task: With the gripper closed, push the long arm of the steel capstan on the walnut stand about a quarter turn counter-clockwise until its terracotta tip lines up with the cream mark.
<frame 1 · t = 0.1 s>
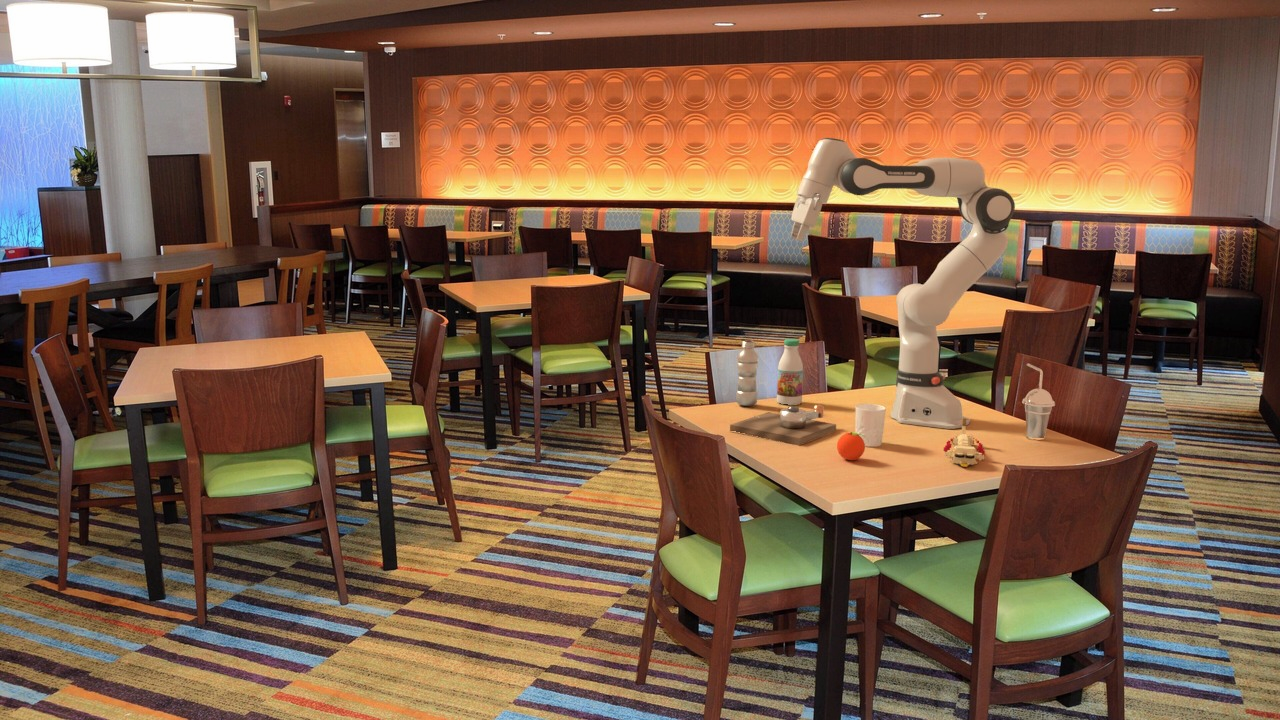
hand: (796, 239, 299), 52 cm above the table, tool tilted 20°, fingers open, 8 cm apart
cup with straw: (1035, 438, 288), on the table
clementine: (852, 460, 264), on the table
milk bottle: (789, 403, 326), on the table
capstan: (803, 414, 292), point 5 cm above the table, hinge at -100.0°
white cup: (868, 444, 280), on the table
plastic bottle: (746, 406, 322), on the table
walnut stand: (792, 433, 290), on the table
blocky toy figure: (963, 457, 269), on the table
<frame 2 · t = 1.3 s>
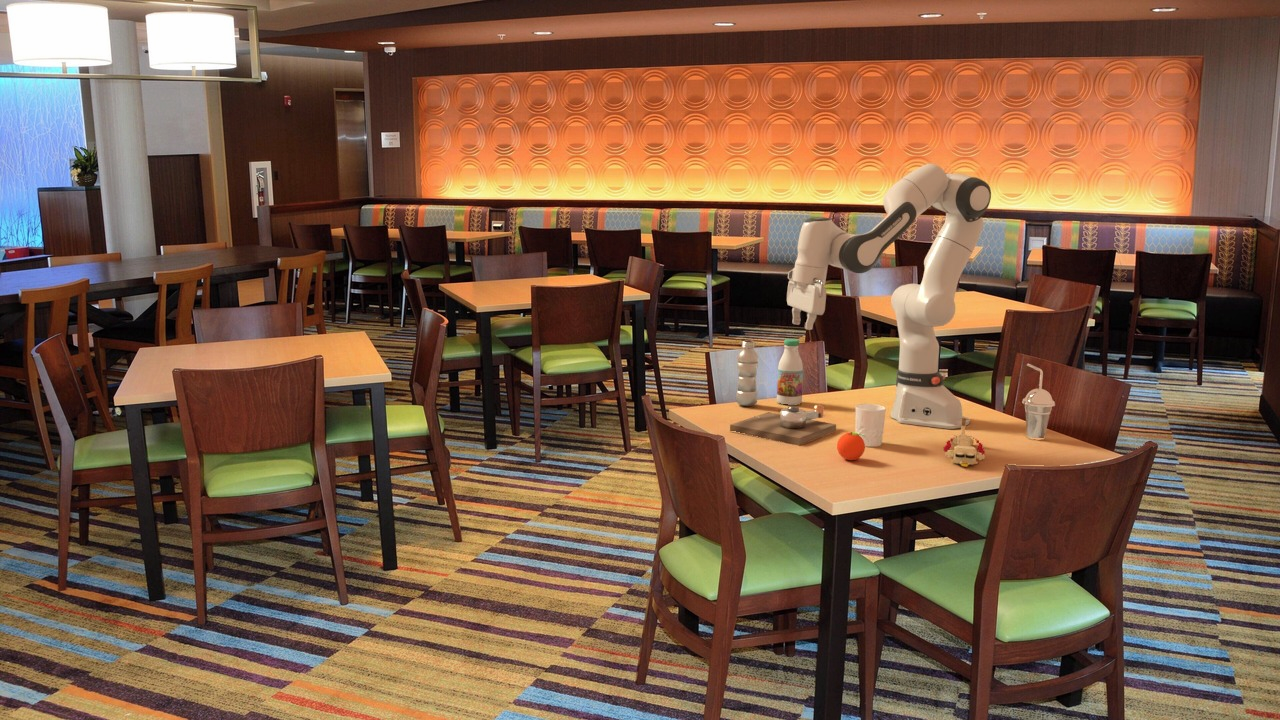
hand: (802, 326, 287), 29 cm above the table, tool pointing down, fingers open, 8 cm apart
nothing on the table moved.
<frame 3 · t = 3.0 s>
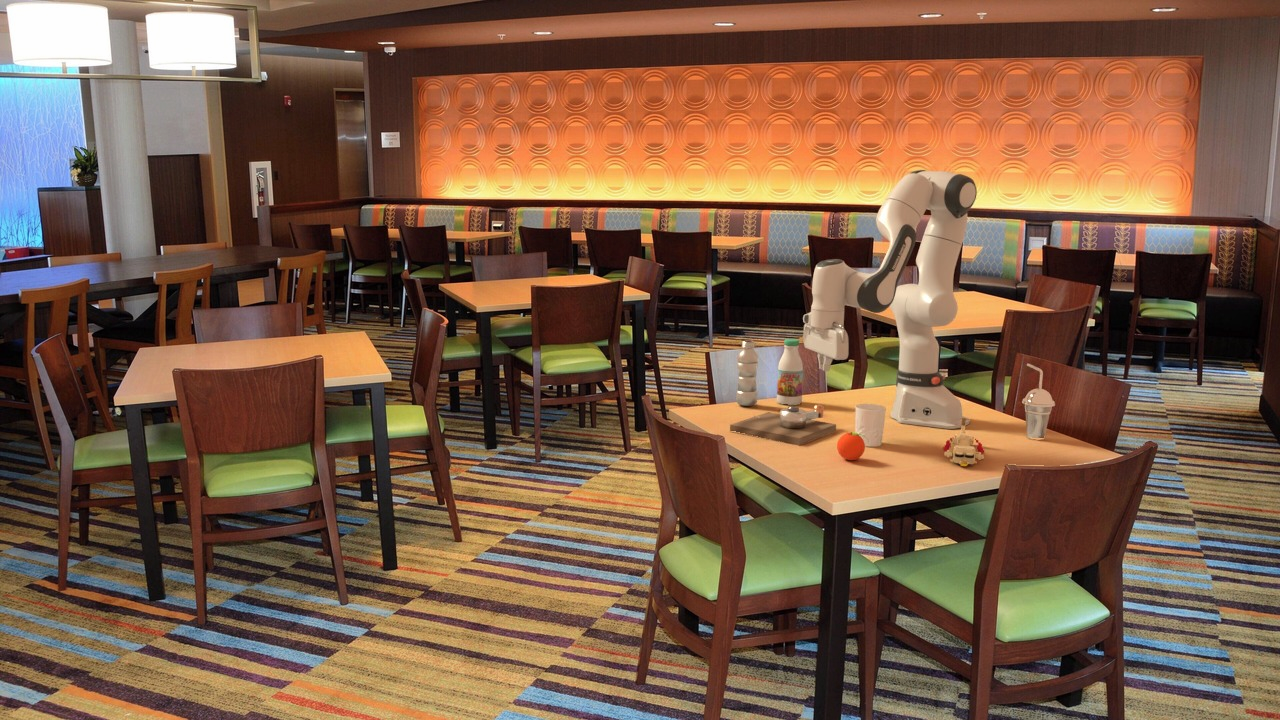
hand: (824, 370, 285), 18 cm above the table, tool pointing down, fingers closed
nothing on the table moved.
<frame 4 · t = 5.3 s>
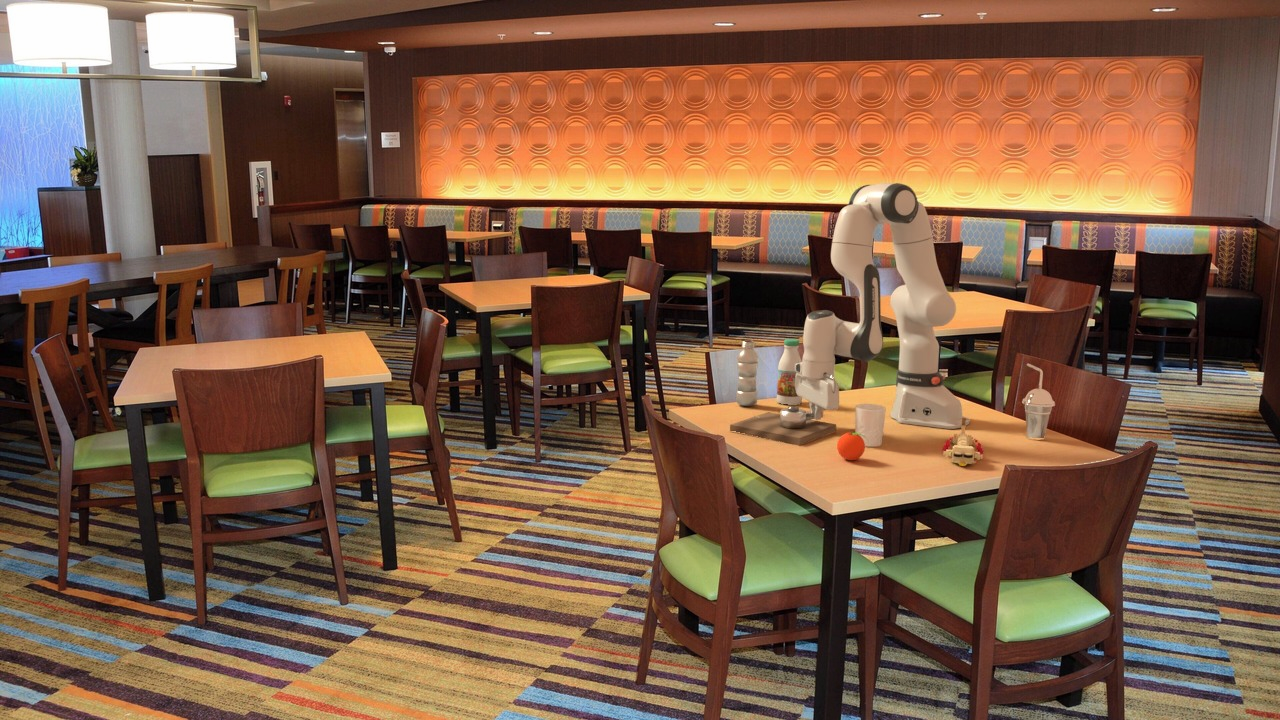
hand: (816, 418, 292), 4 cm above the table, tool pointing down, fingers closed
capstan: (803, 414, 292), point 5 cm above the table, hinge at -100.0°, touching gripper
everything else where it was.
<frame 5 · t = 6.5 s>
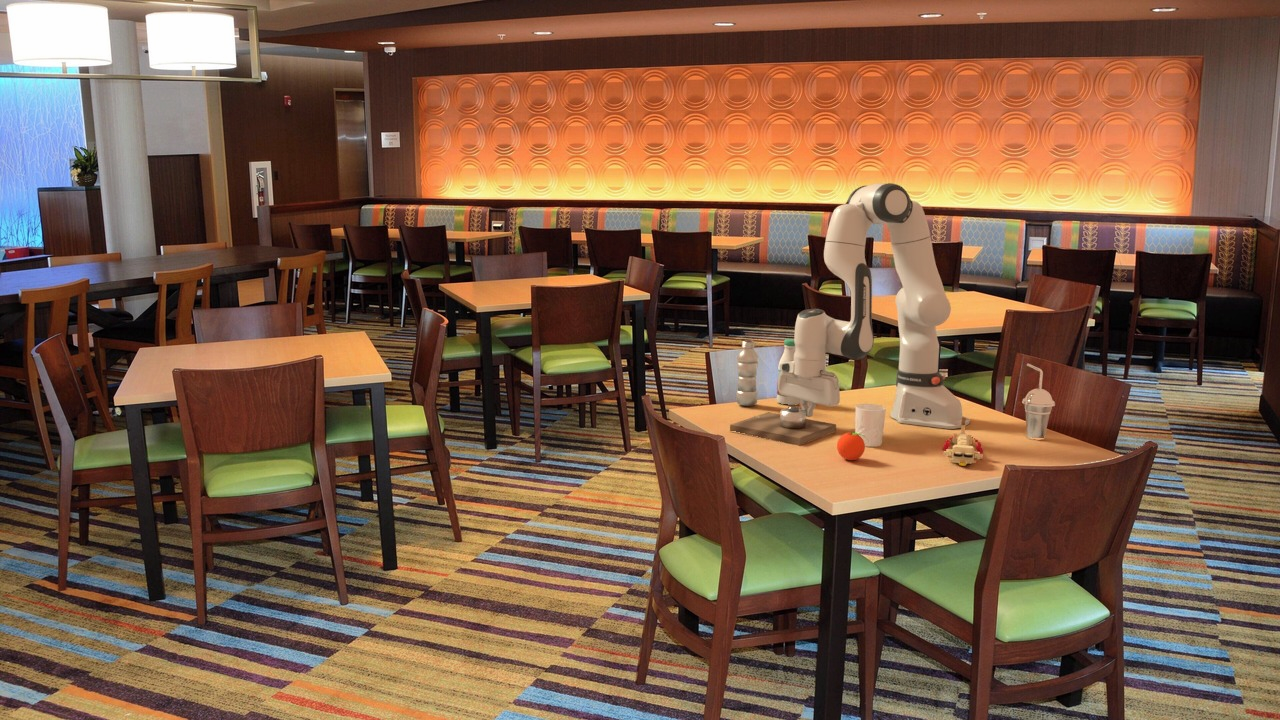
hand: (807, 416, 295), 4 cm above the table, tool pointing down, fingers closed
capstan: (797, 413, 293), point 5 cm above the table, hinge at -75.6°, touching gripper
everything else where it was.
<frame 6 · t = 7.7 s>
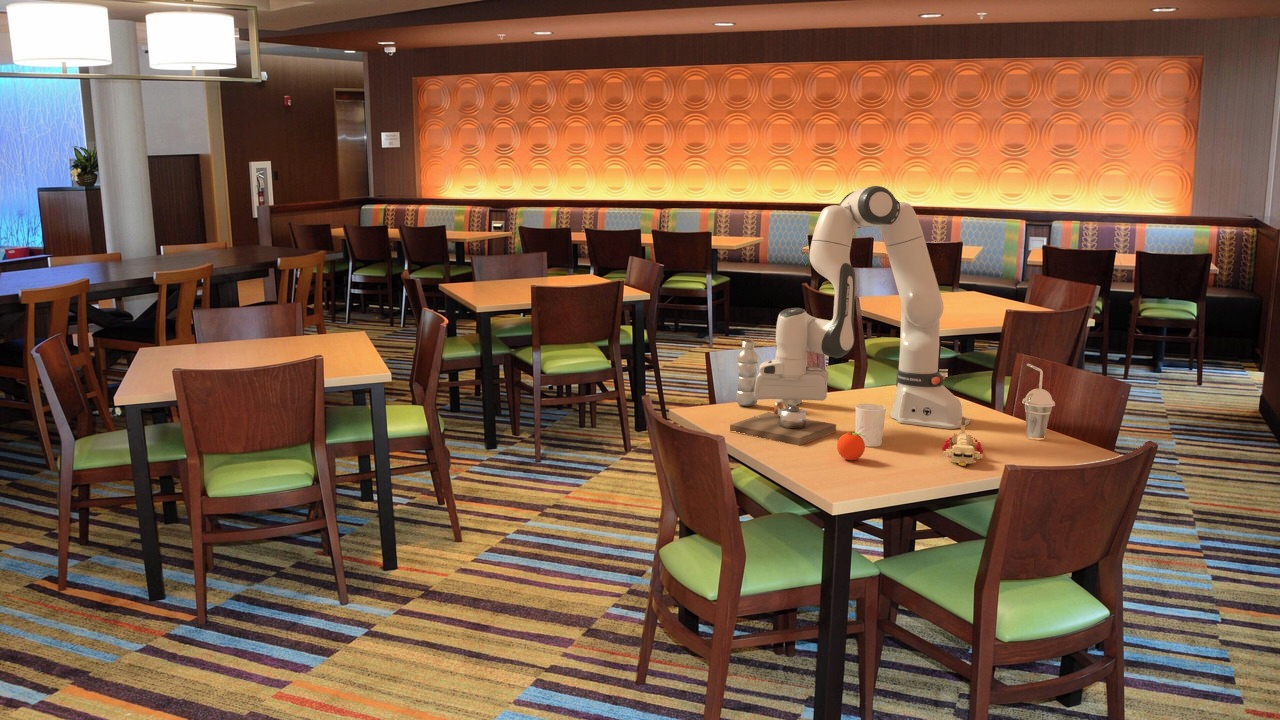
hand: (789, 414, 297), 3 cm above the table, tool pointing down, fingers closed
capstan: (787, 412, 293), point 5 cm above the table, hinge at -38.1°, touching gripper
everything else where it was.
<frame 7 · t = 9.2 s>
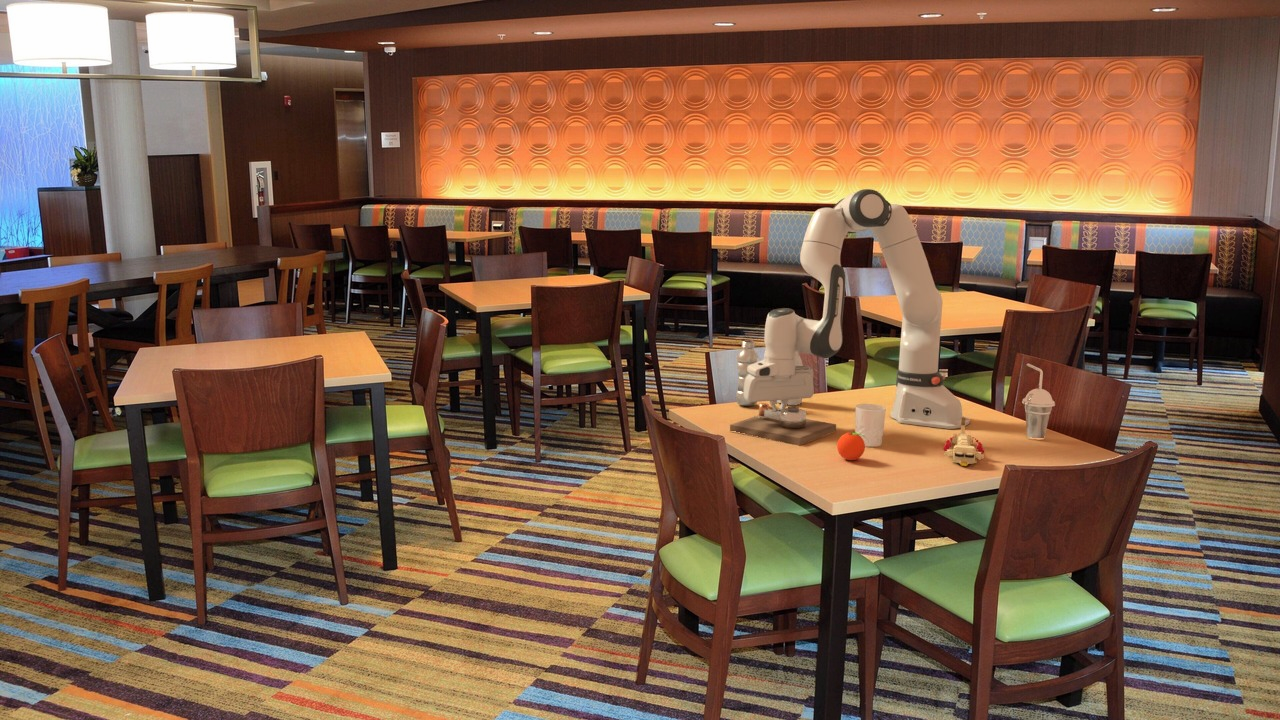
hand: (778, 415, 296), 3 cm above the table, tool pointing down, fingers closed
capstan: (781, 413, 292), point 5 cm above the table, hinge at -10.9°, touching gripper
everything else where it was.
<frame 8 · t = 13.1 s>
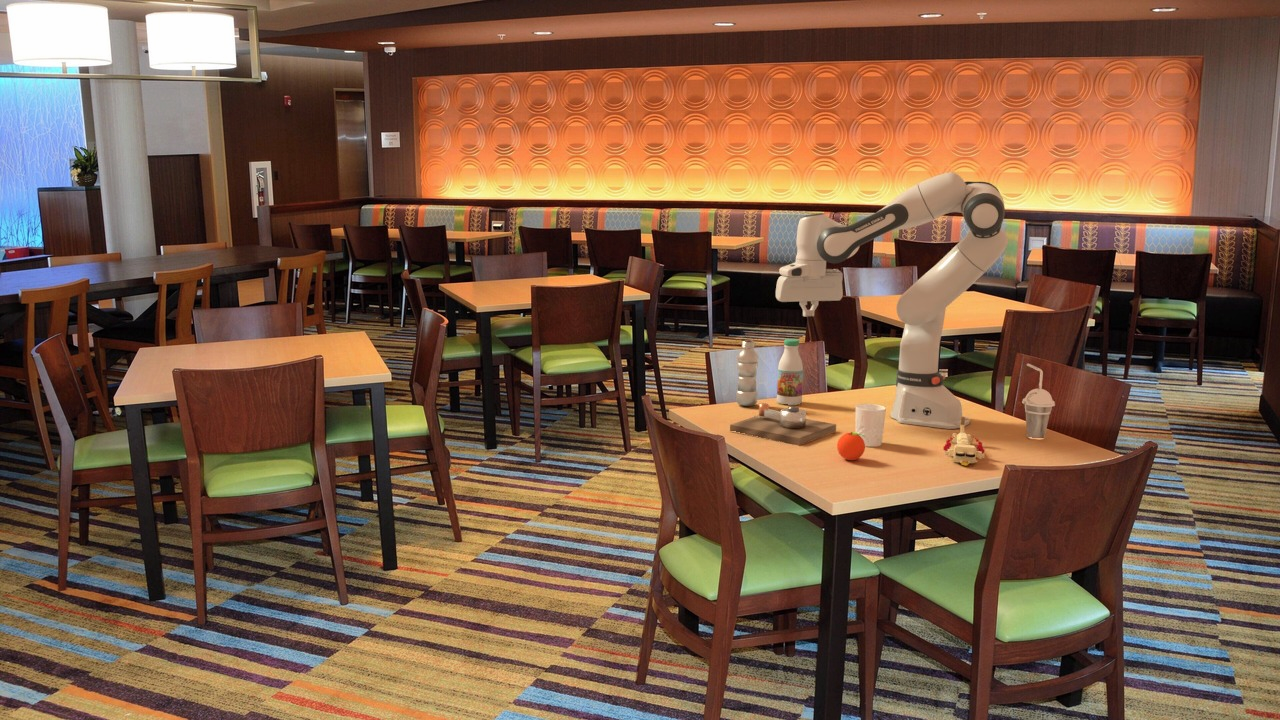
hand: (808, 316, 309), 29 cm above the table, tool pointing down, fingers closed
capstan: (781, 413, 292), point 5 cm above the table, hinge at -10.8°
at the end: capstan at -11° (first picture: -100°) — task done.
